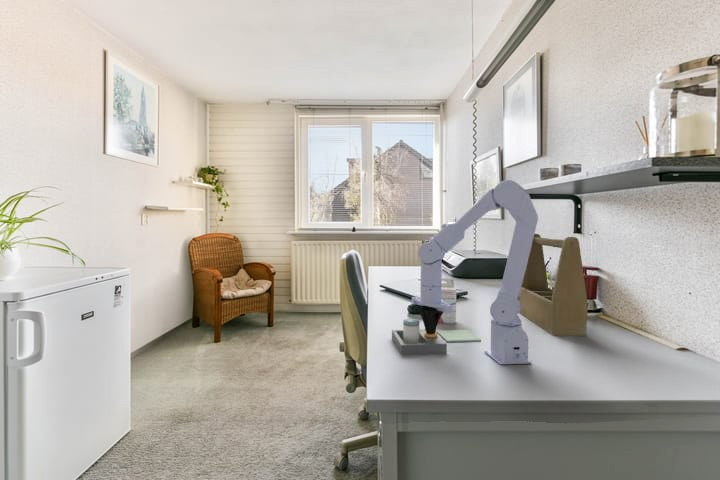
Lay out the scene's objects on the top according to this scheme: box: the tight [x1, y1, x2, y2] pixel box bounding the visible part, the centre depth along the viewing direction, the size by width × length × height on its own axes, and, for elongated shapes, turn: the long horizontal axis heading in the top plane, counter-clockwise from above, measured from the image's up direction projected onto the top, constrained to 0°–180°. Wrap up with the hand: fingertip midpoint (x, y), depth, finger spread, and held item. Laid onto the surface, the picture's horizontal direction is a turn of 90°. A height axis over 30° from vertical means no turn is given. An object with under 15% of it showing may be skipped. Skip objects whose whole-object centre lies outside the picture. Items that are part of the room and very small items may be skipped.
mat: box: [436, 329, 482, 343], centre depth 114 cm, size 10×10×1 cm
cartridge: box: [402, 318, 420, 344], centre depth 106 cm, size 4×4×7 cm
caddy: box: [518, 233, 589, 337], centre depth 129 cm, size 29×11×30 cm, turn 176°
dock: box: [391, 328, 448, 356], centre depth 106 cm, size 14×12×2 cm
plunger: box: [424, 331, 438, 338], centre depth 106 cm, size 4×4×3 cm
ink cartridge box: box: [438, 277, 457, 324], centre depth 132 cm, size 9×5×15 cm, turn 84°
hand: (430, 333), depth 106 cm, fingers closed, pressing on plunger
